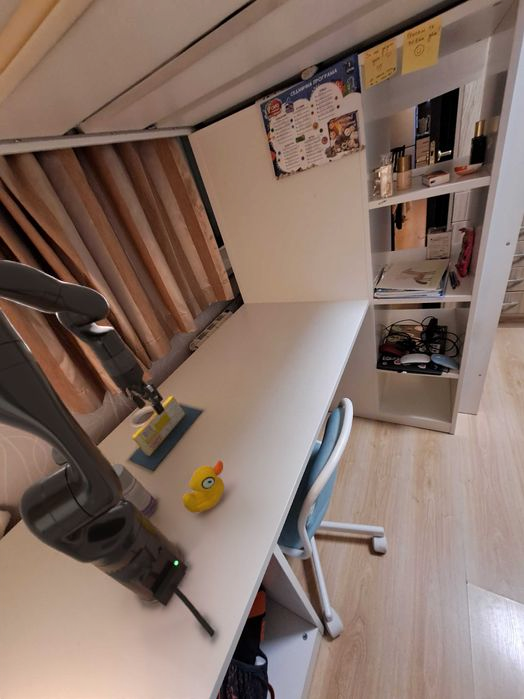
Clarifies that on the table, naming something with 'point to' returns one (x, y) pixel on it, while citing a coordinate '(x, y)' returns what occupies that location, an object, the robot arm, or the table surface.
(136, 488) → the container
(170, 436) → the mat
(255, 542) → the table surface
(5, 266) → the robot arm
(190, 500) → the duckling
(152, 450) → the candy box
